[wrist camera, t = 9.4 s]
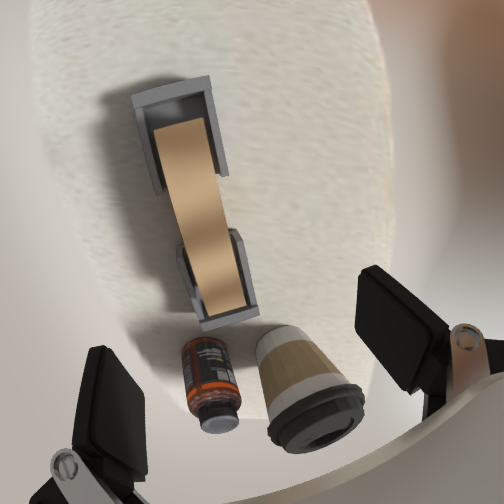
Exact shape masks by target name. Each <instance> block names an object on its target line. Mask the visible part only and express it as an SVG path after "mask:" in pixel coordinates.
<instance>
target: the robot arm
mask: <svg viewBox="0 0 504 504" xmlns="http://www.w3.org/2000/svg"><path fill="white" fill-rule="evenodd" d="M448 328H449V325H447V324H446V323H445V322H444V321H443V320H442V319H441V318H440V317H439V316H438V315H436V314H435V313H434V312H433V311H432V310H431V309H429V307H427V306H426V305H425V304H424V303H423V302H422V301H420V300H419V299H418V298H417V297H416V296H415V295H413V294H412V293H411V292H410V291H409V290H407V289H406V288H405V287H404V286H403V285H401V284H400V283H399V282H398V281H396V280H395V279H394V278H393V277H392V276H390V275H389V274H388V273H387V272H385V271H384V270H383V269H382V268H380V267H379V266H378V265H373V266H370V267H367V268H365V269H363V270H362V271H361V274H360V275H359V276H358V289H357V304H356V316H355V330H356V333H357V334H358V336H359V337H360V338H361V339H362V340H363V342H364V343H365V344H366V345H367V347H368V348H369V349H370V350H371V352H372V353H373V354H374V355H375V357H376V358H377V359H378V360H379V362H380V363H381V364H382V365H383V367H384V368H385V369H386V370H387V371H388V373H389V374H390V376H391V377H392V378H393V379H394V381H395V382H396V383H397V384H398V386H399V387H400V388H401V389H402V390H403V391H407V392H408V393H409V395H411V394H413V393H415V392H416V391H418V390H419V389H422V391H423V392H424V405H423V416H422V422H421V423H420V424H418V425H416V426H415V427H413V428H412V429H410V430H409V431H407V432H406V433H404V434H403V435H401V436H399V437H398V438H396V439H394V440H393V441H391V442H389V443H388V444H386V445H384V446H383V447H381V448H379V449H377V450H375V451H374V452H372V453H370V454H368V455H366V456H364V457H362V458H360V459H358V460H356V461H354V462H352V463H350V464H348V465H346V466H344V467H341V468H339V469H337V470H334V471H332V472H330V473H327V474H325V475H323V476H320V477H318V478H315V479H312V480H310V481H307V482H304V483H301V484H298V485H295V486H292V487H290V488H286V489H283V490H280V491H276V492H273V493H270V494H266V495H262V496H258V497H254V498H250V499H245V500H240V501H235V502H230V503H225V504H504V340H492V339H484V337H483V334H482V333H481V332H480V330H479V329H478V328H476V327H475V326H473V325H470V324H459V325H457V326H455V327H454V328H453V329H452V331H450V330H449V329H448ZM50 469H51V474H52V477H51V478H50V479H49V480H48V481H47V482H46V483H45V484H44V485H43V486H42V487H41V488H40V489H39V490H38V491H37V492H36V493H35V494H34V495H33V496H32V497H31V499H30V501H29V504H149V503H148V502H147V501H146V500H145V499H144V498H143V497H142V496H141V495H140V494H139V493H138V492H137V491H136V490H135V489H134V482H145V475H147V474H148V465H147V452H146V433H145V397H144V393H143V391H142V390H141V388H140V387H139V386H138V385H137V383H136V382H135V381H134V380H133V378H132V377H131V376H130V374H129V373H128V372H127V370H126V369H125V368H124V366H123V365H122V363H121V362H120V361H119V360H118V358H117V357H116V356H115V354H114V352H113V351H112V349H110V348H107V347H106V346H104V345H101V346H97V347H92V348H90V349H89V352H88V356H87V360H86V364H85V368H84V373H83V377H82V382H81V387H80V392H79V397H78V403H77V409H76V415H75V421H74V429H73V437H72V450H71V449H67V448H65V449H61V450H59V451H57V452H56V453H55V454H54V456H53V458H52V460H51V464H50Z"/></svg>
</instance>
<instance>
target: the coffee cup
mask: <svg viewBox="0 0 504 504" xmlns="http://www.w3.org/2000/svg"><path fill="white" fill-rule="evenodd" d="M256 359H257V364H258V369H259V374H260V379H261V384H262V388H263V393H264V398H265V403H266V407H267V412H268V417H269V421H270V425H269V427H268V428H267V430H268V436H269V437H271V441H272V442H273V443H274V444H276V445H277V446H281V447H283V448H284V450H285V451H287V452H288V453H292V454H302V453H308V452H312V451H316V450H318V449H321V448H324V447H326V446H328V445H330V444H332V443H334V442H336V441H338V440H340V439H341V438H343V437H344V436H346V435H347V434H349V433H350V432H351V431H352V430H354V429H355V428H356V427H357V425H358V424H359V423H360V422H361V421H362V419H363V417H364V409H363V405H364V403H365V396H364V394H363V393H362V388H360V387H359V386H358V385H356V384H351V383H350V382H349V381H348V380H347V379H346V378H345V376H344V375H343V374H342V373H341V372H340V371H339V370H338V369H337V368H336V367H335V365H334V364H333V363H332V362H331V361H330V360H329V359H328V358H327V357H326V355H325V354H324V353H323V352H322V351H321V350H320V349H319V348H318V347H317V345H316V344H315V343H314V342H313V341H312V340H311V339H310V338H309V336H308V335H307V334H306V333H305V332H303V331H302V330H300V329H299V328H298V327H294V326H282V327H277V328H275V329H273V330H271V331H269V332H268V333H266V334H265V335H264V336H263V337H262V338H261V339H260V341H259V342H258V344H257V347H256Z"/></svg>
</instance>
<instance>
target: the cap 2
mask: <svg viewBox="0 0 504 504" xmlns="http://www.w3.org/2000/svg"><path fill="white" fill-rule="evenodd" d="M229 236H230V240H231V244H232V248H233V252H234V257H235V261H236V265H237V269H238V273H239V277H240V281H241V285H242V289H243V293H244V297H245V301H246V306H243V307H239V308H236V309H233V310H229V311H226V312H222V313H219V314H215V315H212V316H209V315H208V313H207V310H206V307H205V304H204V301H203V299H202V296H201V293H200V290H199V287H198V284H197V281H196V278H195V275H194V272H193V269H192V266H191V263H190V260H189V257H188V254H187V251H186V248H185V245H184V244H182V245H178V246H176V260H177V263H178V266H179V268H180V271H181V274H182V277H183V280H184V282H185V285H186V288H187V290H188V293H189V296H190V298H191V301H192V304H193V306H194V309H195V311H196V314H197V317H198V319H199V322H200V326H201V328H202V330H203V332H205V331H209V330H212V329H216V328H219V327H223V326H226V325H230V324H233V323H237V322H240V321H243V320H246V319H250V318H253V317H256V316H259V315H260V313H259V308H258V305H257V302H256V297H255V293H254V288H253V284H252V279H251V274H250V270H249V265H248V261H247V256H246V251H245V247H244V242H243V239H242V238H241V236H240V234H239V233H238V231H237V229H235V230H231V231H229Z"/></svg>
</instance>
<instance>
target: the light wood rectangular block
mask: <svg viewBox="0 0 504 504" xmlns="http://www.w3.org/2000/svg"><path fill="white" fill-rule="evenodd" d="M154 136H155V140H156V144H157V148H158V152H159V156H160V160H161V164H162V168H163V172H164V176H165V179H166V183H167V187H168V190H169V194H170V198H171V201H172V205H173V208H174V212H175V215H176V218H177V222H178V225H179V228H180V232H181V235H182V238H183V241H184V245H185V248H186V251H187V254H188V257H189V260H190V263H191V266H192V269H193V272H194V275H195V278H196V281H197V284H198V287H199V290H200V293H201V296H202V299H203V301H204V304H205V307H206V310H207V313H208V315H209V316H212V315H215V314H219V313H222V312H226V311H229V310H233V309H236V308H239V307H243V306H246V301H245V297H244V293H243V289H242V285H241V281H240V277H239V273H238V269H237V265H236V261H235V257H234V252H233V248H232V244H231V240H230V236H229V231H228V227H227V223H226V219H225V214H224V210H223V206H222V201H221V197H220V193H219V188H218V184H217V179H216V175H215V171H214V166H213V162H212V157H211V153H210V148H209V143H208V139H207V134H206V130H205V125H204V120H203V118H198V119H194V120H190V121H186V122H182V123H178V124H174V125H171V126H167V127H164V128H160V129H157V130H154Z"/></svg>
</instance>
